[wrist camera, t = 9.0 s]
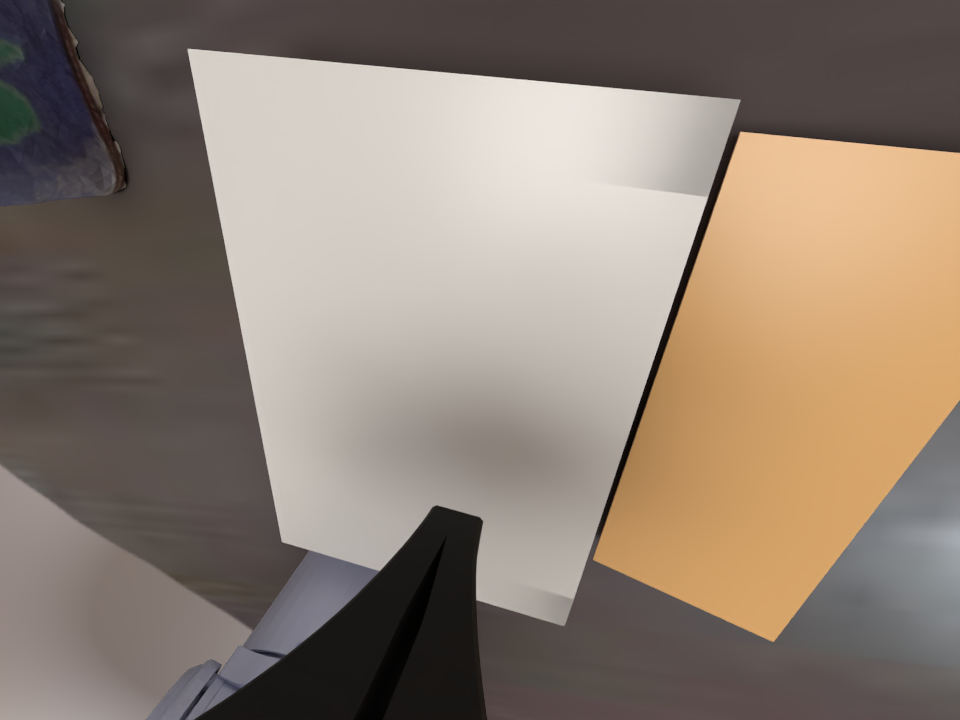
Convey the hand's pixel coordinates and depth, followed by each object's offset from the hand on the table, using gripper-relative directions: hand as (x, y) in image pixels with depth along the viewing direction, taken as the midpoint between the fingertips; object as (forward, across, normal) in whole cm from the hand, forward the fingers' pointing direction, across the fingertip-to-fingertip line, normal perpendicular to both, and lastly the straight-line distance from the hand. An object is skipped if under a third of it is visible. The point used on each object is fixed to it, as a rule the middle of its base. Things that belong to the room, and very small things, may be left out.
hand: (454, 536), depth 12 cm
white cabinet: (+9, +2, -1) cm, 9 cm away
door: (+8, -6, -1) cm, 10 cm away
